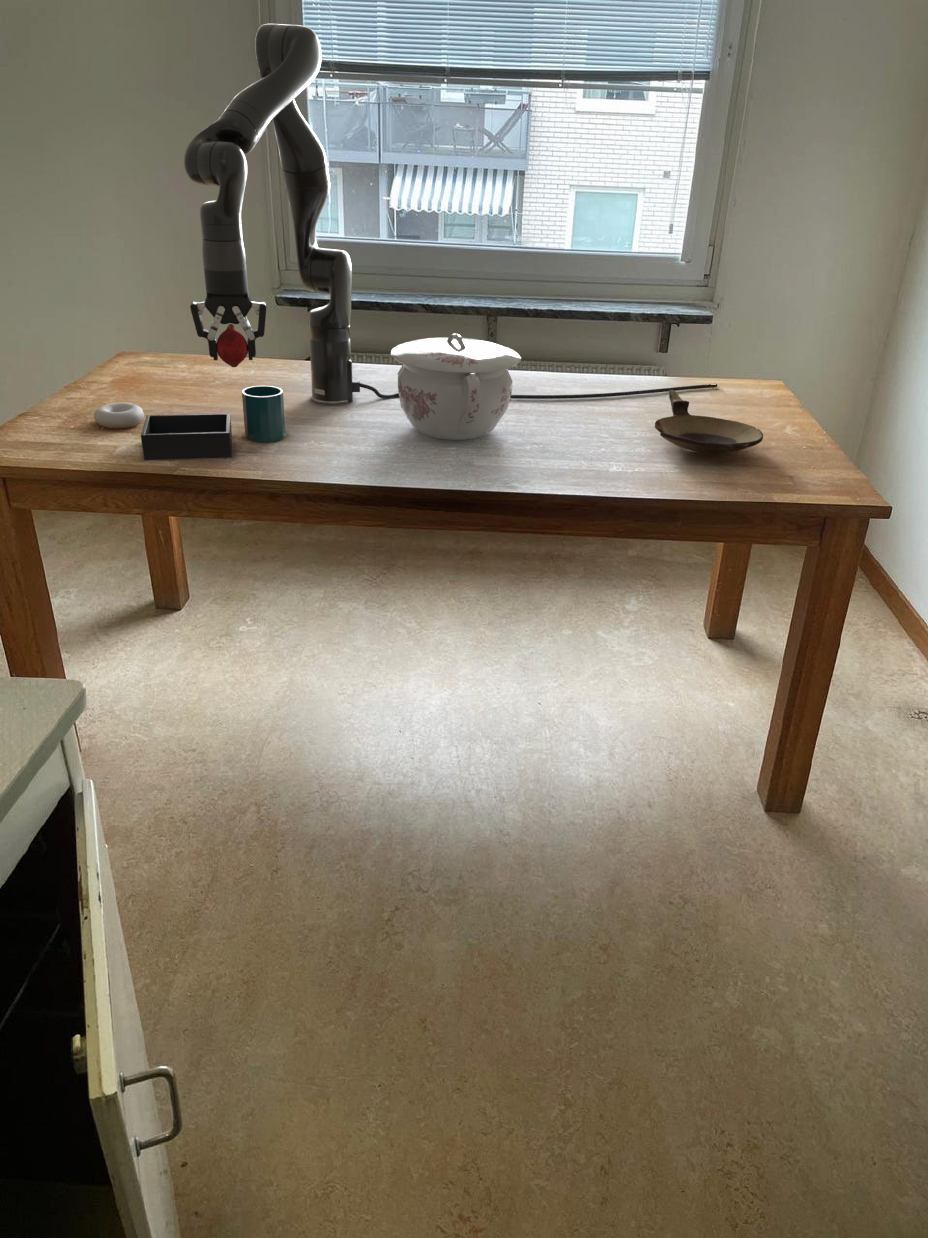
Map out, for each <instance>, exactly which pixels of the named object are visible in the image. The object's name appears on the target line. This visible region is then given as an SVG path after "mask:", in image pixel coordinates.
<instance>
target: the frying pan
mask: <svg viewBox="0 0 928 1238" xmlns="http://www.w3.org/2000/svg"><path fill="white" fill-rule="evenodd" d="M668 397H669V402H670V406H671V412H672V415H671V416H666V417H662V418H659V419H657V420H655V422H654V429H655V430H656V431H658V432H659V435H660V437H662V438H663V439H664V440H666V441H668V442H669V443H671V444H673V445H675V446H678V447H680V448H683V449H685V450H688V451H690V452H695V453H700V454H725V453H732V452H738V451H742V450H745V449H749V448H751V447H754V446H757V445H758V444H760V443H762V441H763V439H764V434H763V433H764V432H763V431H762V430H761V429H759V428H756V427H755V426H753V425H750V424H748V423H744V422H740V421H737V420H731V419H725V418H719V417H714V416H713V417H712V416H707V415H703V416H702V415H695V414H690V413H689V406H690V401H689V400H684V399H682V397H680V395H679V394H678V393H677V391H674V390H670V391H668Z"/></svg>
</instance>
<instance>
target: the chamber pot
mask: <svg viewBox="0 0 928 1238" xmlns="http://www.w3.org/2000/svg"><path fill="white" fill-rule="evenodd" d="M390 356H391V357H392V358H393V359H394V360H395V361H396V362H397V363H399V364H402V365H401V367H400V369H399V371H398V372H397V393H399V397H398V398H399V403H400V408H401V409H402V411H403V412H404V414H405V415H406V418H407V419H408V421H409V423H410V424H411V425H412V427H413V428H414V429H416V430H417V432H419V433H422V434H423V435H426V436H428V437H430V438H431V437H432V438H435V439H439V440H444V441H468V440H473V439H476V438H481V437H484V436H486V435H488V434H490V433H491V432H492V431H493V430H494V429H495V428H496V426H497V425H498V424H499V422H500V420H501V419H502V418H503V416H504V415H505V413H507V411H508V408H509V404H510V400H511V398H510V397H511V395H513V394H512V393H513V379H512V378H513V377H511V374H510V372H509V369H512V368H513V367H516V366H518V364H519V363H520V362H521V361H522V357H521V355H520V354H519V352H517V351H515V349H513V348H510V347H508V346H504V345H503V344H499V343H496V342H492V341H488V340H482V339H479V338H467V337H462V336H461V335H460V334H458V333H457V332H455V333H452V334H451V335H449V336H441V337H438V336H437V337H426V338H418V339H414V340H409V341H405V342H403V343H402V342H401V343H399V344H397V345H396V346H394V347H393V348H392V349H391V350H390Z"/></svg>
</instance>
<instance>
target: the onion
mask: <svg viewBox="0 0 928 1238" xmlns="http://www.w3.org/2000/svg"><path fill="white" fill-rule="evenodd" d="M216 342H217V353H218V358H220V360H222V361H223V363H225V364H226V365H228V366H230V367H231V368H237V367H238V366H239V365H240V364H241V363H242V362H243V361H244V360H245V359H246V358H247V356H248V343H247V340H246V338H245V337H244V335H243V334H242V333H241V332H240V331H239V330H237V329H235V324H232V323H228V325H227V327H226V328H225V330H224V331H222V332H221V333H220V334H219V336H218V338H217V339H216Z"/></svg>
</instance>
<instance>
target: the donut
mask: <svg viewBox="0 0 928 1238" xmlns="http://www.w3.org/2000/svg"><path fill="white" fill-rule="evenodd" d="M144 418H145V413H144V411H143V409H142V407H140V406H139V405H137V404H134V403H130V402H111V403H107V404H104V405H101V406H99V407H97V409H95V411H94V413H93V419H94V420H95V422H96V424H98V425H99V426H101V427H104V428H108V429H126V428H131V427H135V426H137V425H138V424H141V423H142V422H143V420H144Z"/></svg>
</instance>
